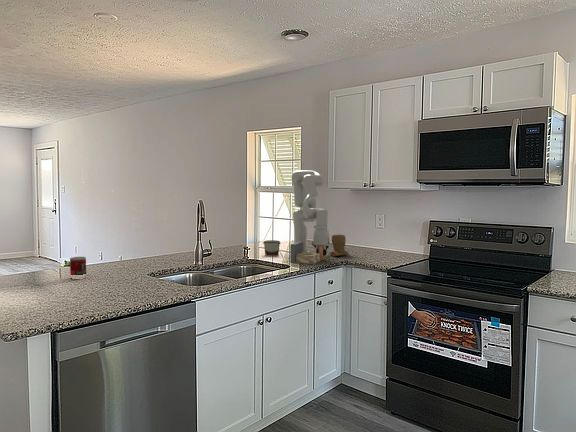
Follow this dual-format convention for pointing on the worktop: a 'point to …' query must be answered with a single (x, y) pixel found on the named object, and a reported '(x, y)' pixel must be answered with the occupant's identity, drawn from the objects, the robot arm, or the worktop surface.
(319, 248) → the dowel
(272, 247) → the food container
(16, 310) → the worktop surface
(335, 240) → the brown chunky piece
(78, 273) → the canned food
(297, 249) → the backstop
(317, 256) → the beige square ring
